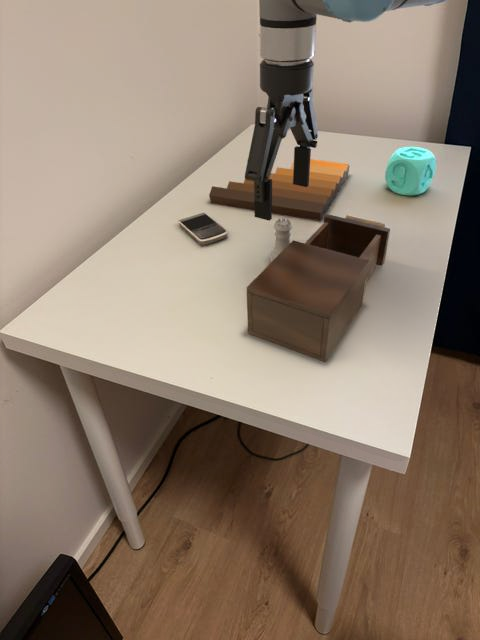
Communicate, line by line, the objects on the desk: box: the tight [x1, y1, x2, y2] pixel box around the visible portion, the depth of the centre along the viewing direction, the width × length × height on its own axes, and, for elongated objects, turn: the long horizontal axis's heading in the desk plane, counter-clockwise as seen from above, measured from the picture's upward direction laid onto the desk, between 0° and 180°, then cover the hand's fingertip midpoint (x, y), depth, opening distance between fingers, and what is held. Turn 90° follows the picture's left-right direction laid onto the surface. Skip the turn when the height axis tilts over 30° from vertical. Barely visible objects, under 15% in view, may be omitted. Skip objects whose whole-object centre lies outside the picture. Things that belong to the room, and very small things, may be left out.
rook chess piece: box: [269, 217, 293, 263], centre depth 86 cm, size 4×4×8 cm
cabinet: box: [246, 239, 369, 363], centre depth 73 cm, size 15×13×9 cm
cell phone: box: [177, 212, 229, 246], centre depth 97 cm, size 6×11×1 cm, turn 31°
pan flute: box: [208, 158, 351, 222], centre depth 110 cm, size 25×3×25 cm
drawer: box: [304, 213, 391, 282], centre depth 82 cm, size 18×11×7 cm, turn 149°
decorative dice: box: [384, 146, 437, 196], centre depth 107 cm, size 8×8×8 cm
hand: (283, 200), depth 81 cm, fingers open, 13 cm apart
